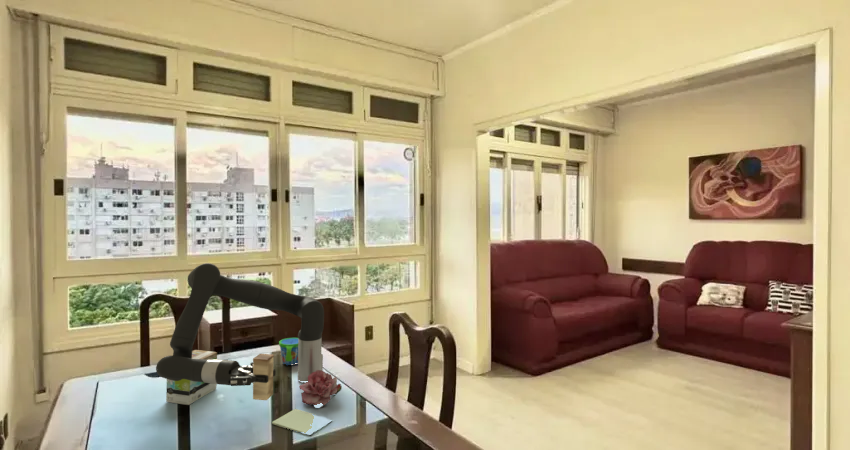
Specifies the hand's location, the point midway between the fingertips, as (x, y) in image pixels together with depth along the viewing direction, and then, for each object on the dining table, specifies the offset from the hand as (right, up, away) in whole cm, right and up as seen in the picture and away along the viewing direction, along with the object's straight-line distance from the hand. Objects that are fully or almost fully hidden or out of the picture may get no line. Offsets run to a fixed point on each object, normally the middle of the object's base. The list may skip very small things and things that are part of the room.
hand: (271, 375), depth 145 cm
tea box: (-37, -15, +25) cm, 47 cm away
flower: (+10, -17, +23) cm, 30 cm away
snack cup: (-11, -14, +59) cm, 62 cm away
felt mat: (+8, -17, +6) cm, 20 cm away
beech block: (-3, -7, +1) cm, 8 cm away
